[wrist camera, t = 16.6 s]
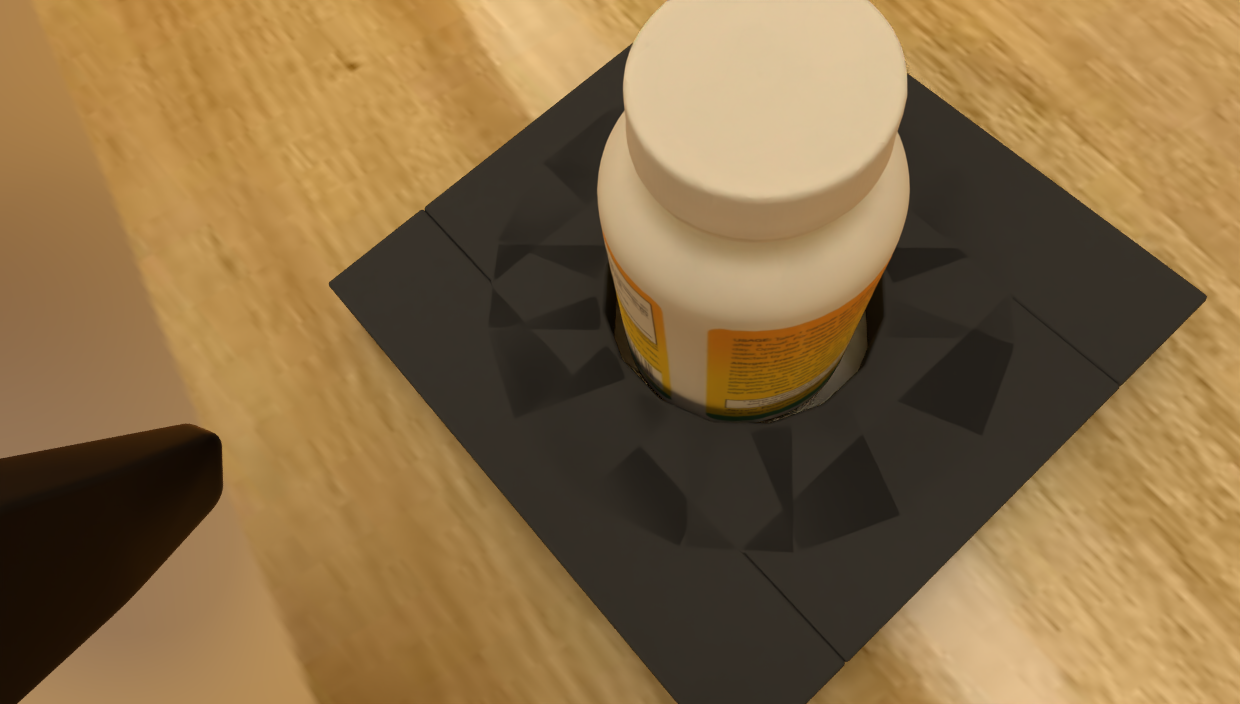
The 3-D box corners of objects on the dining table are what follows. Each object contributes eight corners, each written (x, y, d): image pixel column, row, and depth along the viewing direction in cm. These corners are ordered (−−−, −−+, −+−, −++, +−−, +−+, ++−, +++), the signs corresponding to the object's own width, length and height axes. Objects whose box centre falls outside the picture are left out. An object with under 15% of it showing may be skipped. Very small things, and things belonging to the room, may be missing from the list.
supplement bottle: (590, 373, 20) (500, 154, 11) (686, 201, 22) (672, -115, 13) (792, 469, 19) (869, 306, 10) (880, 279, 21) (1015, -11, 12)
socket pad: (733, 761, 17) (736, 774, 15) (359, 315, 22) (326, 283, 20) (1162, 330, 19) (1210, 296, 18) (742, 6, 24) (745, -49, 22)
